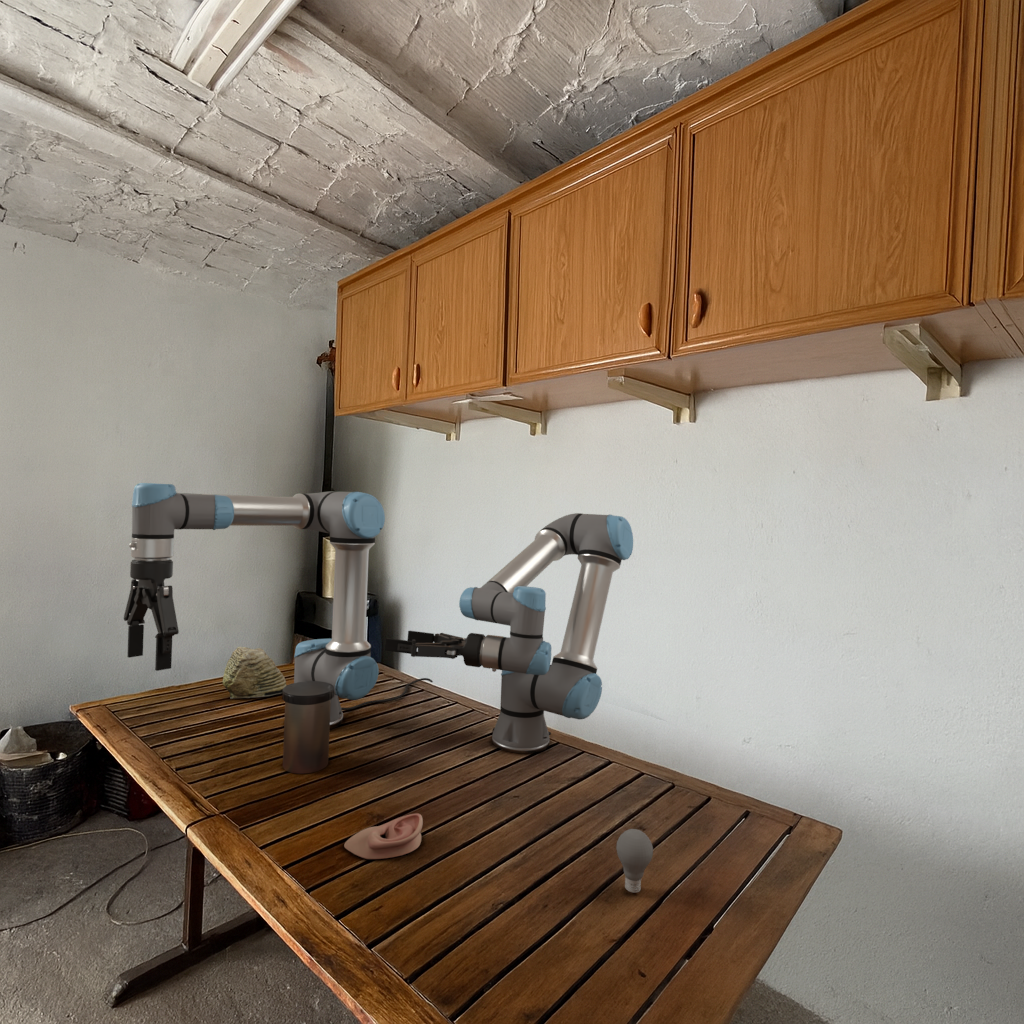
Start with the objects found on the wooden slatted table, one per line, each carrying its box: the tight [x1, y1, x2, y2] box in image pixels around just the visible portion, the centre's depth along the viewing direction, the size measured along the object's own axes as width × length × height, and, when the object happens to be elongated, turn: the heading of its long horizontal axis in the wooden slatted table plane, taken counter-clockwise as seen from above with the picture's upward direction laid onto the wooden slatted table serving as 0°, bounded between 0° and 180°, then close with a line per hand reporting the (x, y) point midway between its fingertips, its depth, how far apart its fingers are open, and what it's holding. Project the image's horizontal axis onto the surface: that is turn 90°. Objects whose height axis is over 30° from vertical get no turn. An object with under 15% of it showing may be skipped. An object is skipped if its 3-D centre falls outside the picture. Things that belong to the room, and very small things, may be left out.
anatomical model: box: [343, 813, 424, 860], centre depth 117 cm, size 13×4×12 cm
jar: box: [282, 700, 331, 775], centre depth 149 cm, size 10×10×18 cm
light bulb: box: [615, 828, 654, 894], centre depth 106 cm, size 6×6×10 cm
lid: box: [281, 681, 334, 705], centre depth 149 cm, size 12×12×2 cm
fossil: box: [222, 646, 288, 699], centre depth 198 cm, size 9×18×15 cm, turn 132°
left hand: (148, 662), depth 129 cm, fingers open, 13 cm apart
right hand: (397, 640), depth 151 cm, fingers open, 13 cm apart
